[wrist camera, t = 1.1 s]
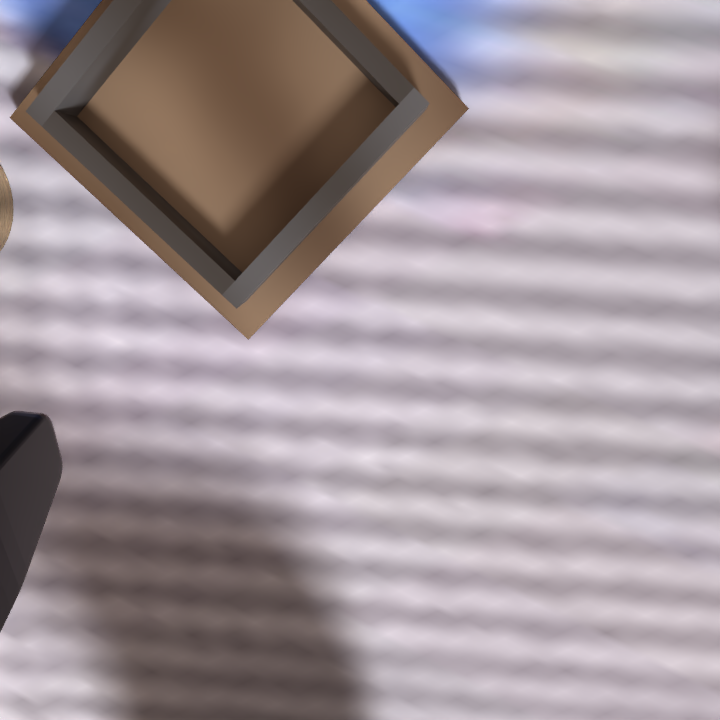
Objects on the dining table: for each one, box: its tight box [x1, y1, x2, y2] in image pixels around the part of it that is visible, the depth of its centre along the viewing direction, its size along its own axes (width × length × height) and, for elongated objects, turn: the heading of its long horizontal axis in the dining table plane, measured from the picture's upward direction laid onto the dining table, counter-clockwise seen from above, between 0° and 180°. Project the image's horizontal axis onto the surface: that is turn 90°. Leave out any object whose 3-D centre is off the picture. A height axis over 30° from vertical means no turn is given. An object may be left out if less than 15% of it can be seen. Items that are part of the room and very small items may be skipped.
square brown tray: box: [10, 0, 469, 339], centre depth 21 cm, size 10×10×2 cm
